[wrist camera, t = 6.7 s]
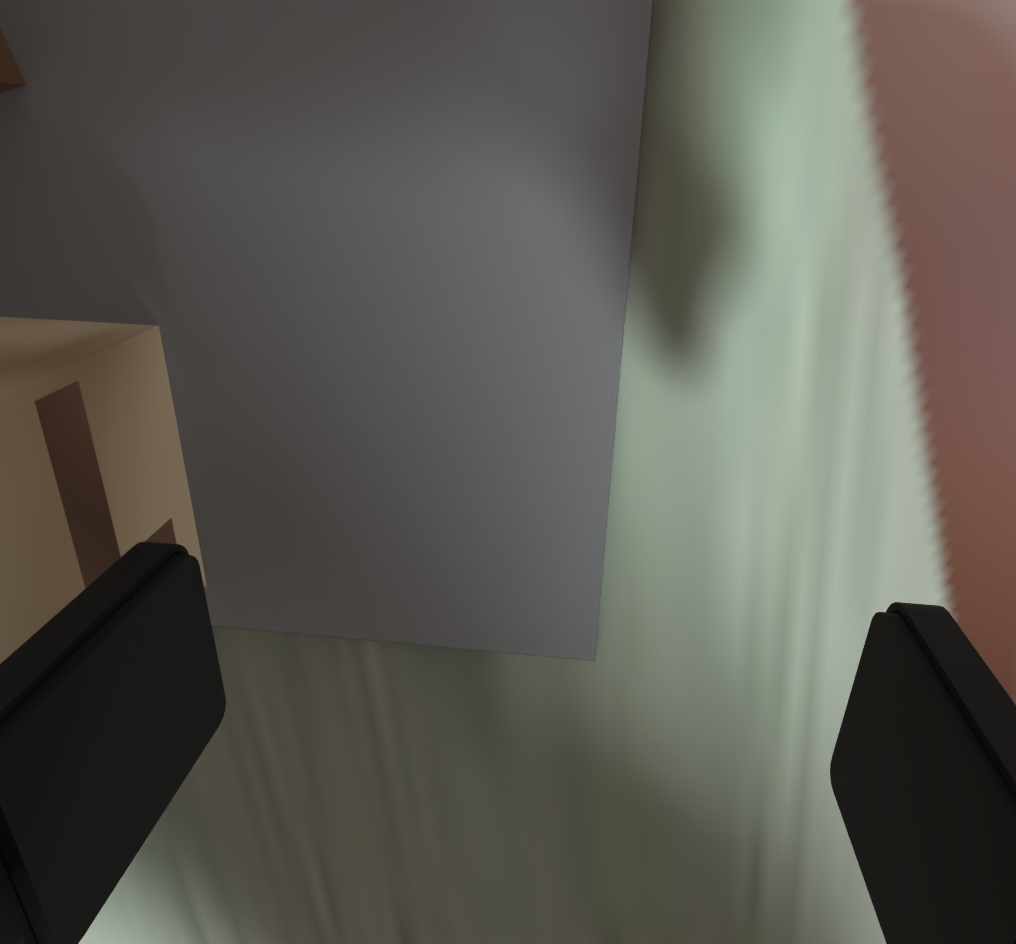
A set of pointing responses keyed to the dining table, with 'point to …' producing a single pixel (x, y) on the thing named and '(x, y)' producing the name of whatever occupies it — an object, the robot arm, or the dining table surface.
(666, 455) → the dining table surface
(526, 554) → the mat
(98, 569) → the maple block
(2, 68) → the walnut block
